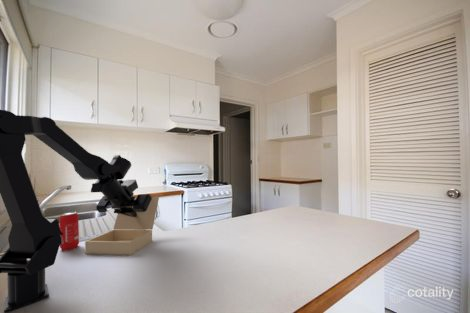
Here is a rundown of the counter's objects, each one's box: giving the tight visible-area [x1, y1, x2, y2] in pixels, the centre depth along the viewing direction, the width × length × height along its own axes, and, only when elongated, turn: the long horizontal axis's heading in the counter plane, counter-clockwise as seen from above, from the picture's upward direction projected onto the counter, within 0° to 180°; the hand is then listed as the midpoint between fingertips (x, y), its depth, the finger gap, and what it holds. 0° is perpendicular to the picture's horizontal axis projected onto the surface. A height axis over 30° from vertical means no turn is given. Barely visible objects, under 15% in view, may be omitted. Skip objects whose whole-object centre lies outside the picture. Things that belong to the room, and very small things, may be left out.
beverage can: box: [58, 211, 80, 252], centre depth 74 cm, size 5×5×12 cm
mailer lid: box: [113, 196, 160, 230], centre depth 81 cm, size 12×16×1 cm
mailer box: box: [84, 229, 153, 256], centre depth 72 cm, size 12×16×4 cm
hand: (135, 216), depth 80 cm, fingers closed, pressing on mailer lid
